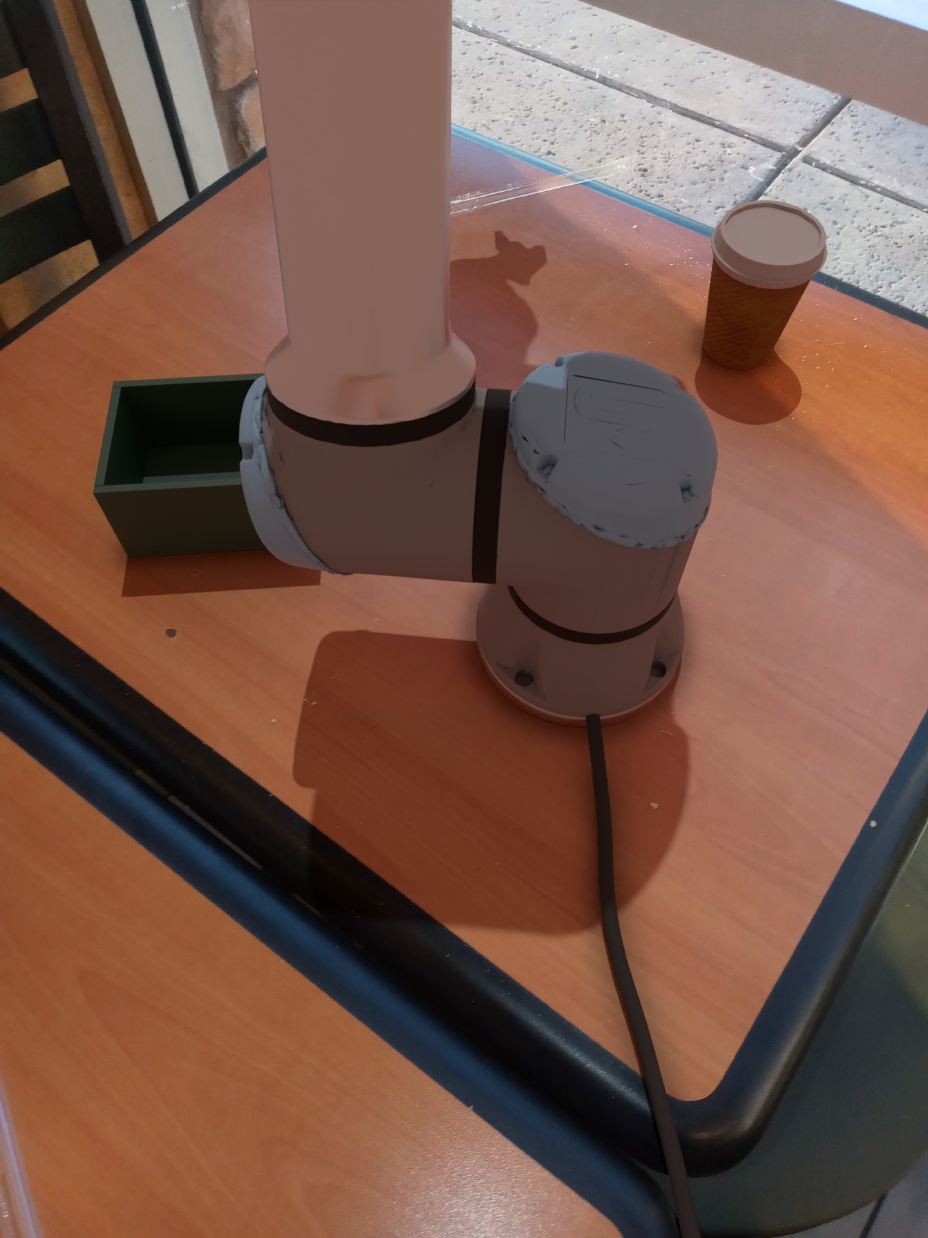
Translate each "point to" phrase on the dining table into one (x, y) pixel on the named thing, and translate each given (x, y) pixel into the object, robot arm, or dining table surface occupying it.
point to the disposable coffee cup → (758, 278)
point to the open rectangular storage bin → (176, 466)
